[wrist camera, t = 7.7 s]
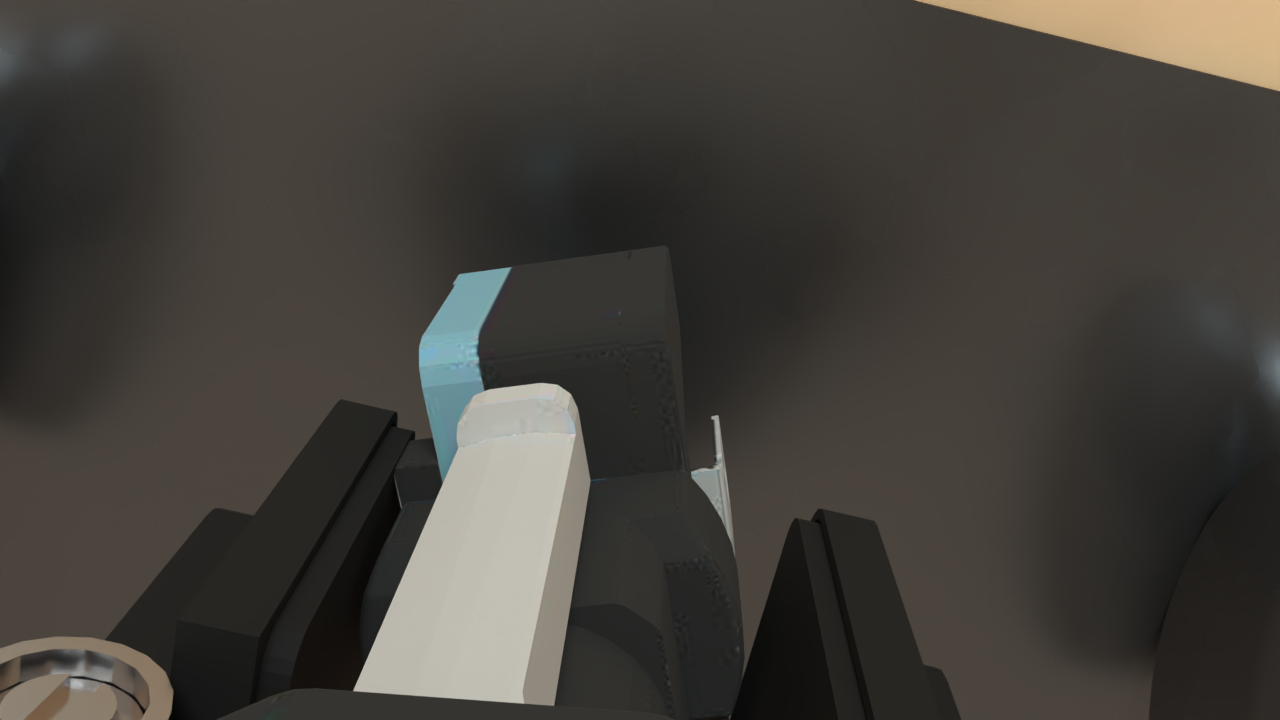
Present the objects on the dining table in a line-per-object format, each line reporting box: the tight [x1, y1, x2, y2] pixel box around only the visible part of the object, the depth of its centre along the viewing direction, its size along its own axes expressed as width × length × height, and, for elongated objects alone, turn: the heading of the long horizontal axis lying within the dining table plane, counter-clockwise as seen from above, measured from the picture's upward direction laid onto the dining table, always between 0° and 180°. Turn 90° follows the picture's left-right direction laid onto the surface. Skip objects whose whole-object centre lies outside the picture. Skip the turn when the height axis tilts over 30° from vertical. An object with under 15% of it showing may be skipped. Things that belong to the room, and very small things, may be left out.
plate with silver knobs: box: [0, 0, 1280, 720], centre depth 13 cm, size 28×12×6 cm, turn 77°
